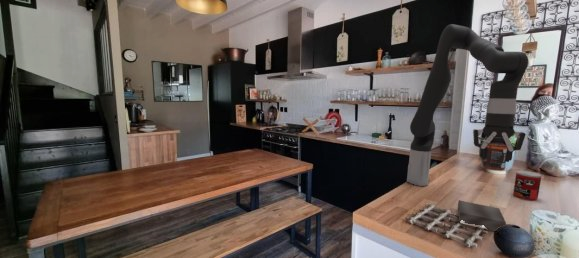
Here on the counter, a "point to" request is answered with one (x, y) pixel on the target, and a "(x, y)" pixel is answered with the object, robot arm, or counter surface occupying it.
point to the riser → (480, 215)
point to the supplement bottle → (495, 154)
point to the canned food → (527, 185)
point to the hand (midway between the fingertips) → (494, 159)
